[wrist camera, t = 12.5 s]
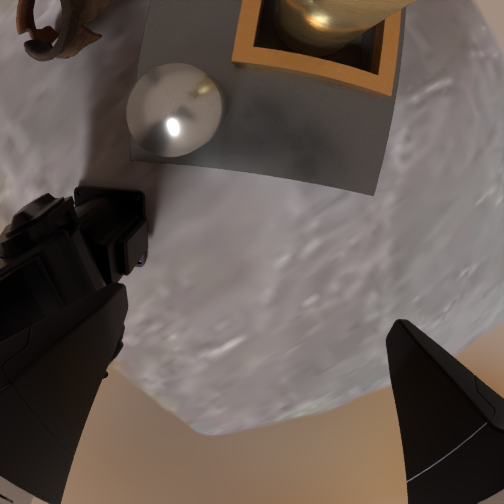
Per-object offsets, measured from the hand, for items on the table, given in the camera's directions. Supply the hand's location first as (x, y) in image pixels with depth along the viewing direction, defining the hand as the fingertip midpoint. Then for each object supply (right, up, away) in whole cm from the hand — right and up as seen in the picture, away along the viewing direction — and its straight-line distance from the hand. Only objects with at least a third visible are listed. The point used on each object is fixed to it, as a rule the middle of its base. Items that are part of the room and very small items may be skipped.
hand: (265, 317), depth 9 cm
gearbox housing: (+1, +15, +7) cm, 16 cm away
